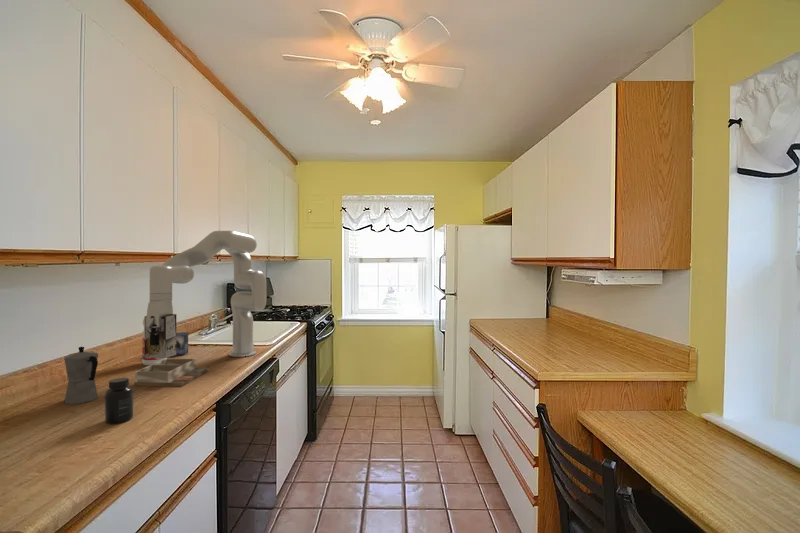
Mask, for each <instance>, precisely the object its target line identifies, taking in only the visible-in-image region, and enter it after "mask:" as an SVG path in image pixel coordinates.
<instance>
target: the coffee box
mask: <svg viewBox="0 0 800 533" xmlns="http://www.w3.org/2000/svg"><path fill="white" fill-rule="evenodd" d="M146 318H147V316H146V315H145V316H144V318H143V319H144V321H145V357H150V358H171V357H174V356H173V355H176V333H177V313H173V314H169V315H165V316H162V317H161V327H159V332H158V335H159V345H150V335H149V332H148V330H147V328H146ZM153 326H157V325H153ZM154 330H155V331H156V329H154Z"/></svg>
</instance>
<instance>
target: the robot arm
mask: <svg viewBox="0 0 800 533" xmlns="http://www.w3.org/2000/svg"><path fill="white" fill-rule="evenodd" d="M256 248H257V240H256V239H255V237H254V236H252V235H250V234H245V233H242V232H239V231H235V230H214V231H211V232H210V233H208V234H207V235H206V236H205V237H204V238H203V239H201V240H200V241H199V242H198V243H197V244H195V245H194V246H192V247H190V248H188V249H186V250H184V251H181V252H179V253H177V254H174V255H173V256H171V257H169V258H168V259H167V260H166V261H164V262H163V263H162V264H161V265H152V266H151V267H150V269H149V298H148V299H149V301H148V304H147V309H146V315H147V318H146V328H147V330H148V332H149V335H150V345H159V335H158V332H159V327H161V317H162V316H165V315H169V314H174V309H173V302H172V301H173V284H187V283H189V282H191V281H192V280H194V277H195V272H194V270H193V268H191V267H194V266H200V265H202V264H206V263H208V262H209V261H210V260H212V259H213V258H214V257H215V256H216V255H218V253H219V252H221V251H222V250H225V251H226V252H227V253H228V254H229V255H230V257H231V259H232V261H233V284H234V286H235V287H236V288H237V289H240V290H241V289H242V290H251V291H237V292H235V293H234V294H232V295H231V298H230V306H231V311H232V351H230V352H229V354H228V356H230V357H234V358H241V357H242V358H244V357H245V356H246V357H249V356H251V357H252V356H253V355H256V354H257V350H256V349H254V345H255V343H254V317H253V314H252V312H261V311H263V310H264V309H265V308H266V306H267V277H266V275H265V273H264V272H263V271H261V270H254V269H253V261H252V257H251V255H250V254H251V253H253V252H255V250H256ZM153 325H157V326H153ZM154 329H156V331H155V330H154Z"/></svg>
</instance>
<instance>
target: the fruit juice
mask: <svg viewBox="0 0 800 533" xmlns="http://www.w3.org/2000/svg"><path fill="white" fill-rule="evenodd" d="M145 316H147V314H146V315H145ZM142 325H143V330H142V335H141V336H142V341H141V342H142V344H141V345H142V348H141V349H142V350H141V351H142V356H141V358H142V360H141V361H142V364H143V365H144V366H150V365H152V364H154V363H157V362H159V361H161V360H164V359H166V358H150V357H145V321H144V318H143V319H142Z"/></svg>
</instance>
